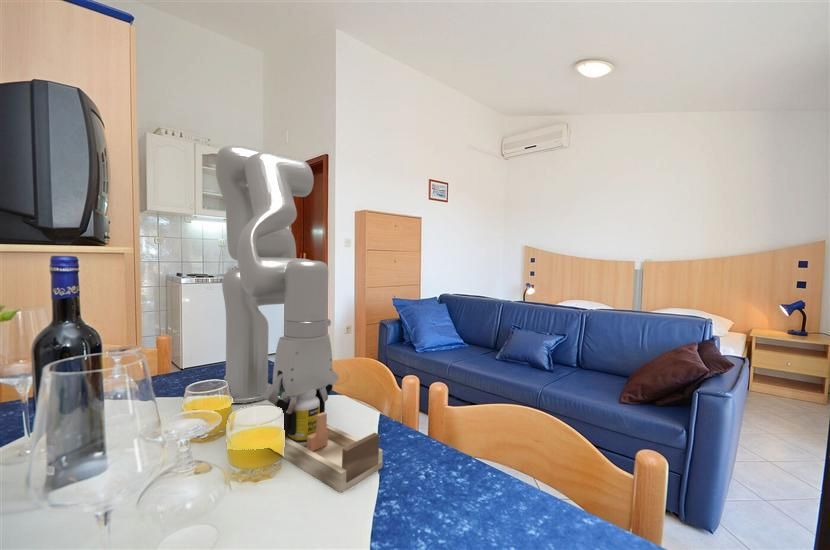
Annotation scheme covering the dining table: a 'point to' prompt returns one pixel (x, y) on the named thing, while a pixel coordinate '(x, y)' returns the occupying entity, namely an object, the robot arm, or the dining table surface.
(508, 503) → the dining table surface
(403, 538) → the dining table surface
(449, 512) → the dining table surface
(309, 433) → the supplement bottle
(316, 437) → the block
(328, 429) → the lane
